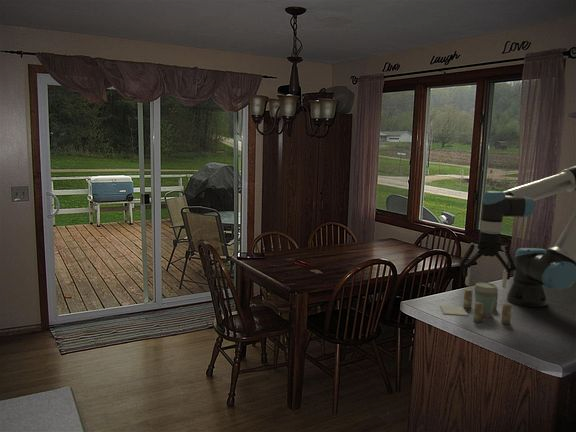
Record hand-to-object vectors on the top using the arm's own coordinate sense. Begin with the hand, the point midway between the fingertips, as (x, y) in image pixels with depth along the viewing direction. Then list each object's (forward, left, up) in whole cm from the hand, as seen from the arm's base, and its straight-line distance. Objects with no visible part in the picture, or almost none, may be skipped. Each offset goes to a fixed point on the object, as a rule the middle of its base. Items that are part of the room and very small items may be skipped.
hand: (485, 286), depth 185 cm
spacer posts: (0, 0, -12) cm, 12 cm away
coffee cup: (0, 0, -12) cm, 12 cm away
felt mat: (+11, -2, -12) cm, 16 cm away
